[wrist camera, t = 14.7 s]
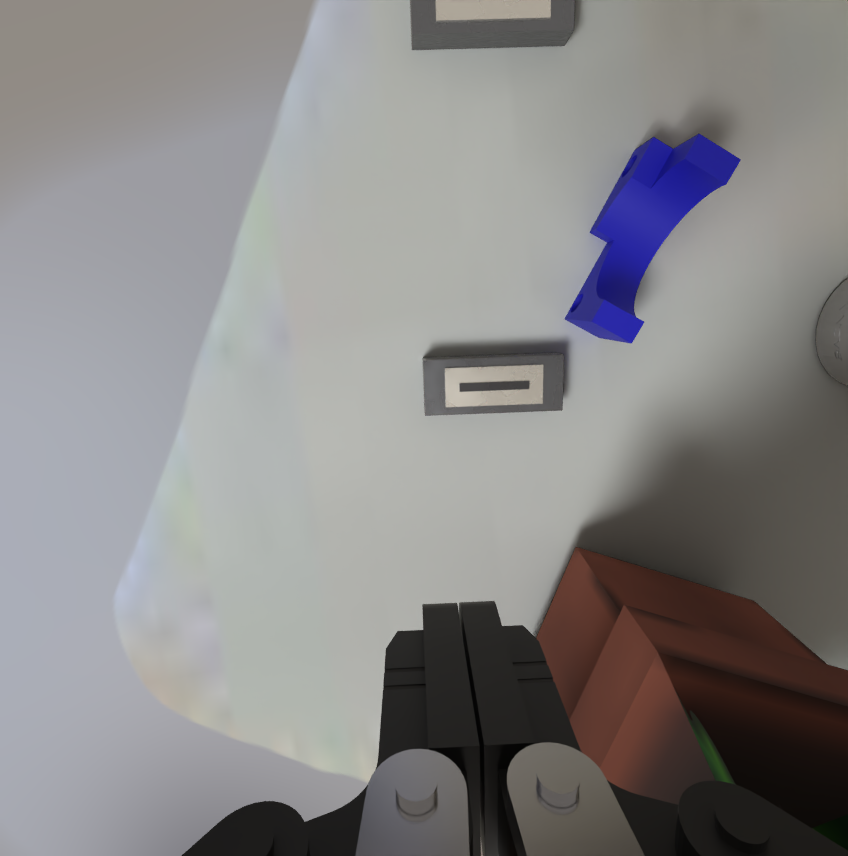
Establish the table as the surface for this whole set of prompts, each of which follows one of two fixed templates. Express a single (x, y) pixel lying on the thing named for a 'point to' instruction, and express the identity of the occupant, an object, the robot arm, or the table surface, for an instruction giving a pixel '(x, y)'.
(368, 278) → the table surface
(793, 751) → the potted plant
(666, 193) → the cable clip
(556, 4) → the label stands
